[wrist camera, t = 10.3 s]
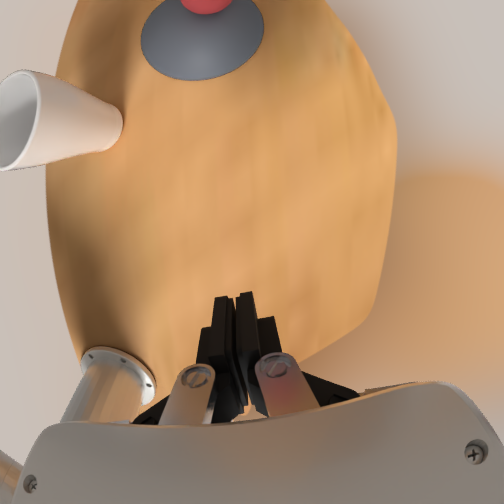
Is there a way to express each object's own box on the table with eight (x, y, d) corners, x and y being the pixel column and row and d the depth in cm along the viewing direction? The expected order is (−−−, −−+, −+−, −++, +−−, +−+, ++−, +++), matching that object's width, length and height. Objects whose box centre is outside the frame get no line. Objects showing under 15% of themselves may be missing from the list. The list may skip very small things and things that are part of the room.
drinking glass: (72, 118, 23) (-25, 112, 8) (120, 86, 22) (33, 47, 8) (89, 169, 25) (-9, 192, 11) (139, 139, 24) (51, 133, 10)
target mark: (222, 100, 24) (221, 100, 23) (119, 58, 21) (119, 58, 21) (285, 12, 20) (285, 12, 20) (184, -23, 17) (184, -24, 17)
